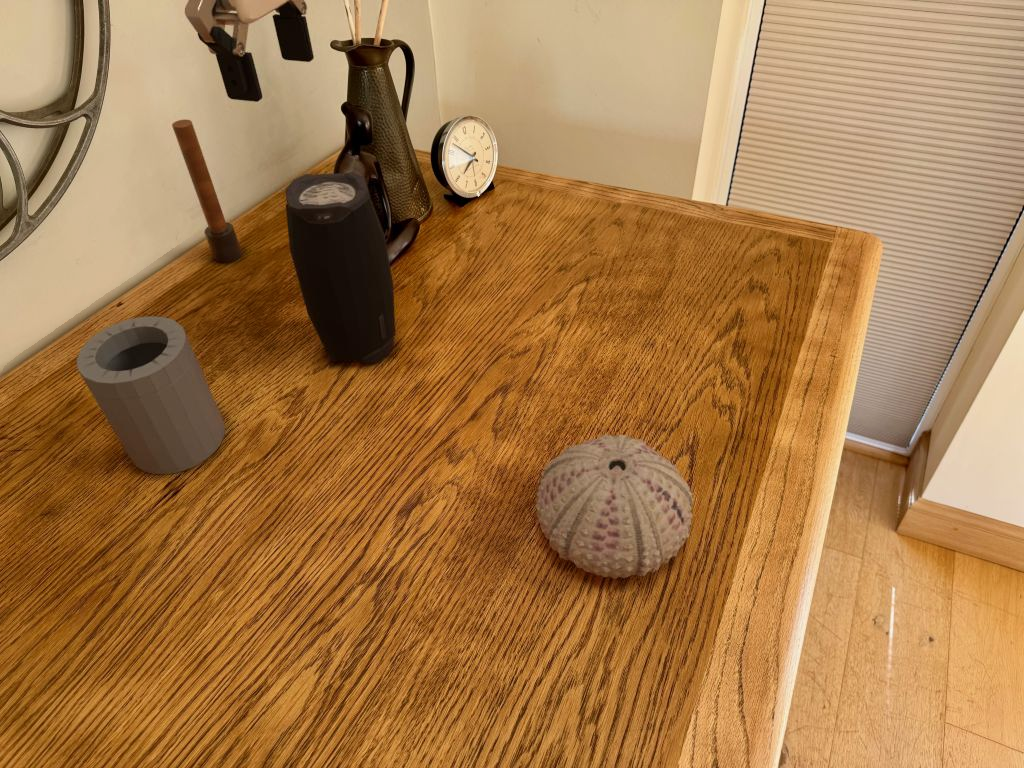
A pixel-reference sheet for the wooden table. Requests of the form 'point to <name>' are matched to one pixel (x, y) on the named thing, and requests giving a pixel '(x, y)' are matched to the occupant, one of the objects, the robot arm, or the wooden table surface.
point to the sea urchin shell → (614, 507)
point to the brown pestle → (207, 196)
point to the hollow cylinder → (153, 393)
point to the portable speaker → (342, 265)
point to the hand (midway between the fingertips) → (273, 78)
